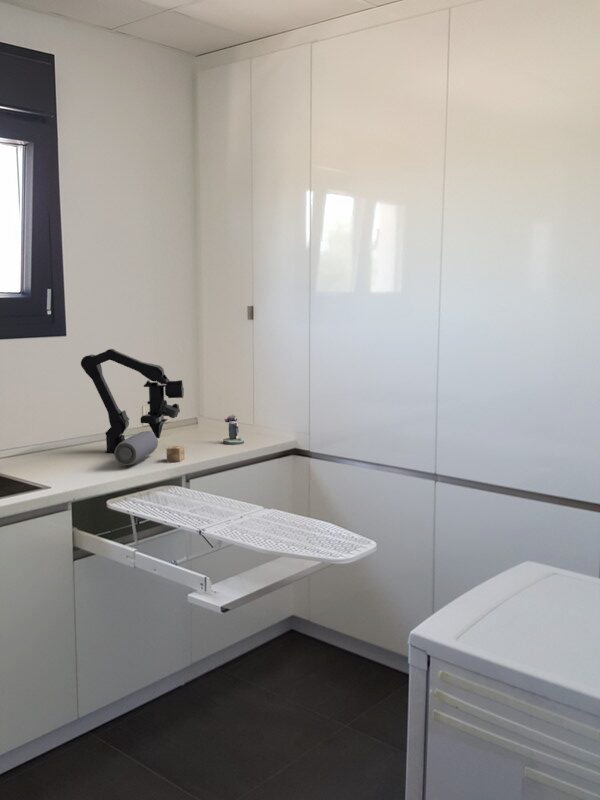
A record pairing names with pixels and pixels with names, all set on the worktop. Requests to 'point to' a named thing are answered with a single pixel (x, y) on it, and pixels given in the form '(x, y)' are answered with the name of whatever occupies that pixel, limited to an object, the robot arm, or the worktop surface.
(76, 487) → the worktop surface
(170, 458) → the letter block
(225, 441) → the figurine
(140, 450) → the bluetooth speaker
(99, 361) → the robot arm
